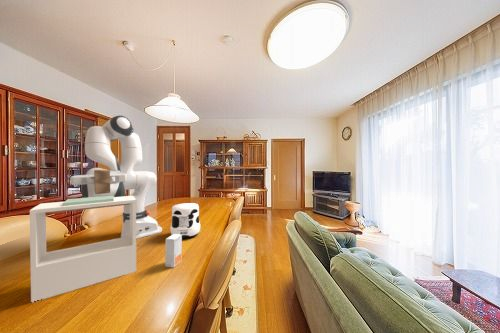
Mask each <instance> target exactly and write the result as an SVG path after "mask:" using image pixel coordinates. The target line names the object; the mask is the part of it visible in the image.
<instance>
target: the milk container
mask: <svg viewBox="0 0 500 333" xmlns="http://www.w3.org/2000/svg"><path fill="white" fill-rule="evenodd" d="M199 214H200V207H199V204H198V203H194V202H190V203H189V202H188V203H187V202H186V203H178V204H174V205H172V207H171V224H170V234H171V235H173V234H180V235H182V239H188V238H192V237H194V236H196V235H198V234H199V233H200V231H201V223H200V218H199V217H200V216H199ZM171 235H170V236H171Z"/></svg>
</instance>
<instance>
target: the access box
mask: <svg viewBox="0 0 500 333" xmlns="http://www.w3.org/2000/svg"><path fill="white" fill-rule="evenodd" d="M124 205H130V236H128V237H122V238H121V237H118V238H112V239H107V240H102V241H98V242H93V243H88V244H83V245H78V246H73V247H67V248H62V249H61V248H60V249H57V250H52V251H47V221H46V220H47V215H48V214H57V213H65V212H74V211H82V210H83V211H85V210H93V209H101V208H109V207H111V208H112V207H119V206H124ZM29 249H30V250H29V252H30V255H29V256H30V258H29V259H30V303H31V302H32V303H35V302H34V301H36V302H38V301H37V300H39V301H42V300H46V299H48V298H53V297H55V296H58V295H59V296H60V295H62V294H65V293H69V292H72V291H75V290H78V289H82V288H86V287H89V286H92V285H96V284H99V283H102V282H105V281H109V280H112V279H116V278H119V277H122V276H125V275H130V274H133V273H136V272H137V239H136V199H135V198H134V197H133V196H129V195H125V196H123V197H113V196H101V197H89V198H83V197H80V198H67V199H66V200H65V201H56V202H45V203H43V202H42V203H39V204H38V205H35V206H34V207H32V208H31V209H30V210H29ZM41 299H42V300H41Z"/></svg>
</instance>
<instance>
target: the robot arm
mask: <svg viewBox="0 0 500 333" xmlns="http://www.w3.org/2000/svg"><path fill="white" fill-rule="evenodd" d="M84 139H85V141H84V153H85V156H86V157H87V158H88V159H89V160H91V161H93V162H95V163H97V164H101V165H102V166H103V165H104V166H106V167H107V168H109V170H110V193H104V194H95V185H94V183H95V179H94V170H107V169H105V168H101V167H93V168H90V169H88V170H87V172H86V174H79V175H77V174H76V175H72V176H70V178H69V181H70V185H72V186H76V185H77V186H79V185H81V196H82V197H81V198H89V197H101V196H113V197H123V196H126V193H127V192H126V191H127V190H134V191H133V192H132V193H131V194H129V195H128V196H133V197H134V198H135V199H136V240H138V239H141V238H145V237H149V236H152V235H157V234H160V233H162V232H163V228H162V226H160V225H159V223H158V221H157V219H155V218H153V217H152V216H149V215H150V214H151V211H148V210H147V209H145V205H146V204H145V203H146V197H147V194H148V193H149V191H150V190H151V189H152V188H153V187H154V186H155V185H156V184H157V181H158V180H157V179H158V177H157V174H155V172H153V171H148V170H138V171H135V170H134V168H135V167H137V166H139V165H141V164H142V163H143V161H144V159H143V158H144V156H143V146H142V141H141V139H140V136H139V134H137V133H135V132H134V128H133V125H132V122H131V120H130V119H129V118H128V117H126V116H125V115H124V116H123V115H115V116H113V117H111V118H110V119H109V120H107V121H106V122H105V123H104V124H102V125H101V126H99V125H94V126H90V127H88V129H87V131H86V134H85V138H84ZM117 140H118V141H119V142H120V143H119V144H120V148H121V150H120V152H121V153H120V154H121V161H119V158H118V156H116V155H114V153H113V152H112V149H111V147H112V146H111V142H113V141H117ZM121 218H122V222H123V223H122V227H121V228H122V229H121V233H120V235H119V236H120V237H119V238H122V237H128V236H130V205H123V212H122V217H121Z"/></svg>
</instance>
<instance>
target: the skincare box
mask: <svg viewBox="0 0 500 333" xmlns="http://www.w3.org/2000/svg"><path fill="white" fill-rule="evenodd" d="M182 241H183V238H182V235H180V234H173V235H170V236H168V237H166V238H165V258H164V259H165V262H164V263H165V264H164V265H165V268H176V266H177V265H178V264H180V262H182V260H183V259H182V256H183V255H182V249H183V248H182V246H183V245H182V244H183V242H182Z"/></svg>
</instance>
